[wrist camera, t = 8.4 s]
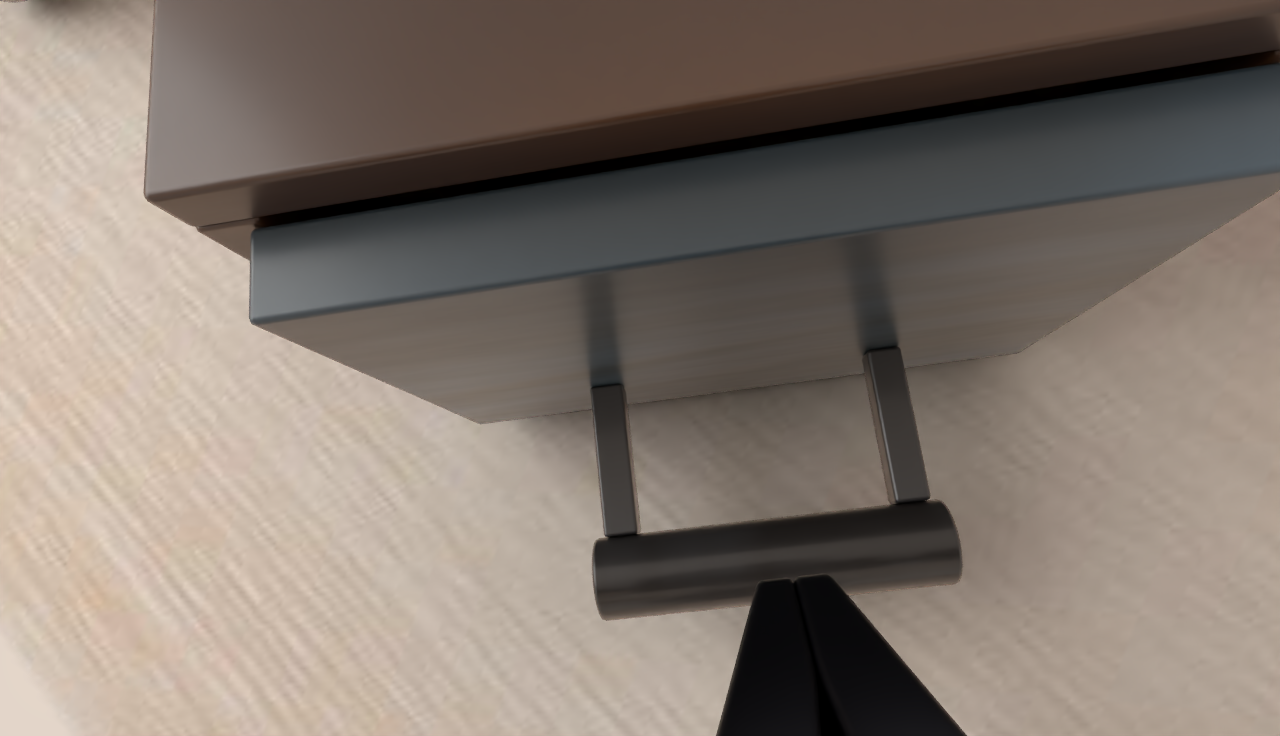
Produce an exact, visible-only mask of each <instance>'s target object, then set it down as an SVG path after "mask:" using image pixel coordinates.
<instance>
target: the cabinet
mask: <svg viewBox="0 0 1280 736" xmlns="http://www.w3.org/2000/svg"><path fill="white" fill-rule="evenodd" d="M1273 63H1280V0H155V1H154V18H153V36H152V54H151V72H150V89H149V107H148V125H147V142H146V160H145V178H144V195H145V198H146V199H147V201H148V202H150V203H152V204H153V205H155V206H157V207H159V208H160V209H162V210H164V211H166V212H167V213H169V214H171V215H173V216H174V217H176V218H178V219H180V220H181V221H183V222H185V223H187V224H188V225H191V226H195V227H196V228H197V230H198V231H199V232H200V233H202V234H204V235H205V236H207V237H209V238H211V239H212V240H214V241H216V242H218V243H219V244H221V245H223V246H225V247H226V248H228V249H230V250H232V251H233V252H235V253H237V254H239V255H241V256H242V257H244V258H246V259H248V260H249V261H250V243H251V233H252V231H253V230H254V229H257V228H263V227H269V226H276V225H282V224H288V223H294V222H300V221H306V220H313V219H319V218H325V217H331V216H337V215H343V214H350V213H356V212H362V211H368V210H374V209H380V208H386V207H393V206H396V205H395V204H394V203H393V202H392V201H391V200H390V199H389V198H388V197H387V196H390V195H396V194H402V193H408V192H414V191H420V190H426V189H433V188H439V187H445V186H451V185H457V184H463V183H469V182H475V181H481V180H487V179H494V178H500V177H506V176H512V175H518V174H524V173H530V172H536V171H542V170H549V169H555V168H561V167H567V166H573V165H579V164H585V163H591V162H597V161H603V160H610V159H616V158H622V157H628V156H634V155H640V154H646V153H652V152H658V151H664V150H671V149H677V148H683V147H689V146H695V145H701V144H707V143H713V142H719V141H726V140H732V139H738V138H744V137H750V136H756V135H762V134H768V133H774V132H780V131H787V130H793V129H799V128H805V127H811V126H817V125H823V124H829V123H835V122H841V121H848V120H854V119H860V118H866V117H872V116H878V115H884V114H890V113H896V112H902V111H909V110H915V109H921V108H927V107H933V106H939V105H945V104H951V103H957V102H964V101H970V100H976V99H982V98H988V97H994V96H1000V95H1006V94H1012V93H1018V92H1025V91H1031V90H1037V89H1043V88H1049V87H1055V86H1061V85H1067V84H1073V83H1079V82H1086V81H1087V82H1086V83H1085V84H1084V86H1083V87H1082V88H1081V89H1080V91H1079V92H1078V93H1077V95H1083V94H1089V93H1095V92H1101V91H1107V90H1113V89H1119V88H1126V87H1132V86H1138V85H1144V84H1150V83H1156V82H1163V81H1169V80H1175V79H1181V78H1187V77H1193V76H1200V75H1206V74H1212V73H1218V72H1224V71H1230V70H1236V69H1243V68H1249V67H1255V66H1261V65H1267V64H1273Z"/></svg>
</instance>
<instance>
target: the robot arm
mask: <svg viewBox="0 0 1280 736" xmlns="http://www.w3.org/2000/svg"><path fill="white" fill-rule="evenodd" d="M716 736H967V735H966V734H965V733H964V732H963V730H962V729H961V728H960V727H959V726H958V725H957V723H956V722H955V721H954V720H953V719H952V718H951V716H950V715H949V714H948V713H947V712H946V710H945V709H944V708H943V707H942V706H941V705H940V703H939V702H938V701H937V700H936V699H935V698H934V696H933V695H932V694H931V693H930V692H929V690H928V689H927V688H926V687H925V686H924V685H923V683H922V682H921V681H920V680H919V679H918V678H917V676H916V675H915V674H914V673H913V672H912V670H911V669H910V668H909V667H908V666H907V665H906V663H905V662H904V661H903V660H902V659H901V657H900V656H899V655H898V654H897V653H896V652H895V650H894V649H893V648H892V647H891V646H890V645H889V643H888V642H887V641H886V640H885V639H884V637H883V636H882V635H881V634H880V633H879V632H878V630H877V629H876V628H875V627H874V626H873V625H872V623H871V622H870V621H869V620H868V619H867V617H866V616H865V615H864V614H863V613H862V612H861V610H860V609H859V608H858V607H857V606H856V605H855V603H854V602H853V601H852V600H851V599H850V597H849V596H848V595H847V594H846V593H845V592H844V590H843V589H842V588H841V587H840V586H839V584H838V583H837V582H836V581H835V580H834V579H833V578H832V577H831V576H830V575H828V574H815V575H806V576H799V577H797V578H796V579H795V580H794V582H793V581H792V580H791V579H790V578H778V579H768V580H762V581H760V582H758V584H757V586H756V589H755V592H754V596H753V600H752V604H751V607H750V611H749V615H748V619H747V622H746V626H745V630H744V633H743V637H742V641H741V645H740V648H739V652H738V656H737V660H736V663H735V667H734V671H733V675H732V678H731V682H730V686H729V690H728V693H727V697H726V701H725V705H724V708H723V712H722V716H721V720H720V723H719V727H718V731H717V735H716Z"/></svg>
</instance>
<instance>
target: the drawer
mask: <svg viewBox="0 0 1280 736" xmlns="http://www.w3.org/2000/svg"><path fill="white" fill-rule="evenodd" d="M1086 82H1087V81H1086ZM1086 82H1079V83H1073V84H1067V85H1061V86H1055V87H1049V88H1043V89H1037V90H1031V91H1025V92H1018V93H1012V94H1006V95H1000V96H994V97H988V98H982V99H976V100H970V101H964V102H957V103H951V104H945V105H939V106H933V107H927V108H921V109H915V110H909V111H902V112H896V113H890V114H884V115H878V116H872V117H866V118H860V119H854V120H848V121H841V122H835V123H829V124H823V125H817V126H811V127H805V128H799V129H793V130H787V131H780V132H774V133H768V134H762V135H756V136H750V137H744V138H738V139H732V140H726V141H719V142H713V143H707V144H701V145H695V146H689V147H683V148H677V149H671V150H664V151H658V152H652V153H646V154H640V155H634V156H628V157H622V158H616V159H610V160H603V161H597V162H591V163H585V164H579V165H573V166H567V167H561V168H555V169H549V170H542V171H536V172H530V173H524V174H518V175H512V176H506V177H500V178H494V179H487V180H481V181H475V182H469V183H463V184H457V185H451V186H445V187H439V188H433V189H426V190H420V191H414V192H408V193H402V194H396V195H390V196H387V197H388V198H389V199H390V200H391V201H392V202H393V203H394V204H395V205H396V206H393V207H386V208H380V209H374V210H368V211H362V212H356V213H350V214H343V215H337V216H331V217H325V218H319V219H313V220H306V221H300V222H294V223H288V224H282V225H276V226H269V227H263V228H257V229H254V230H253V231H252V233H251V243H250V299H249V319H250V321H251V323H252V324H253V325H255V326H257V327H260V328H262V329H264V330H266V331H269V332H271V333H273V334H276V335H278V336H280V337H282V338H285V339H287V340H289V341H291V342H294V343H296V344H298V345H301V346H303V347H305V348H307V349H310V350H312V351H314V352H317V353H319V354H321V355H323V356H326V357H328V358H330V359H333V360H335V361H337V362H339V363H342V364H344V365H346V366H348V367H351V368H353V369H355V370H358V371H360V372H362V373H364V374H367V375H369V376H371V377H374V378H376V379H378V380H380V381H383V382H385V383H387V384H390V385H392V386H394V387H396V388H399V389H401V390H403V391H406V392H408V393H410V394H412V395H415V396H417V397H419V398H421V399H424V400H426V401H428V402H431V403H433V404H435V405H437V406H440V407H442V408H444V409H447V410H449V411H451V412H453V413H456V414H458V415H460V416H463V417H465V418H467V419H469V420H472V421H474V422H476V423H479V424H485V423H493V422H500V421H508V420H515V419H523V418H530V417H538V416H546V415H553V414H561V413H568V412H576V411H583V410H591V409H592V414H593V425H594V435H595V445H596V456H597V466H598V476H599V487H600V497H601V507H602V518H603V528H604V535H605V536H606V537H605V538H599V539H597V540H596V541H595V543H594V547H593V554H592V575H593V587H594V594H595V600H596V604H597V608H598V611H599V614H600V616H601V618H602V619H603V620H606V621H607V620H617V619H627V618H636V617H646V616H655V615H665V614H674V613H684V612H693V611H703V610H712V609H722V608H732V607H741V606H751V604H752V600H753V596H754V592H755V589H756V586H757V584H758V582H760V581H762V580H768V579H778V578H790V579H791V580H792V581H793V582H794V580H795V579H796V578H797V577H799V576H806V575H815V574H828V575H830V576H831V577H832V578H833V579H834V580H835V581H836V582H837V583H838V584H839V586H840V587H841V588H842V589H843V590H844V592H845V593H846V594H847V595H856V594H865V593H875V592H884V591H894V590H903V589H913V588H922V587H932V586H941V585H951V584H956V583H957V582H959V581H960V579H961V576H962V566H963V561H962V550H961V544H960V539H959V535H958V531H957V528H956V525H955V522H954V520H953V517H952V515H951V513H950V511H949V509H948V508H947V506H946V505H945V504H944V502H942V501H941V500H937V499H934V500H928V499H930V490H929V485H928V480H927V476H926V471H925V466H924V461H923V456H922V451H921V446H920V441H919V436H918V431H917V426H916V421H915V417H914V412H913V407H912V402H911V397H910V392H909V387H908V382H907V377H906V372H905V368H909V367H916V366H924V365H931V364H939V363H947V362H954V361H962V360H969V359H977V358H984V357H992V356H1000V355H1007V354H1015V353H1019V352H1021V351H1022V350H1024V349H1026V348H1027V347H1029V346H1030V345H1032V344H1034V343H1035V342H1037V341H1038V340H1040V339H1042V338H1043V337H1045V336H1046V335H1048V334H1050V333H1051V332H1053V331H1054V330H1056V329H1058V328H1059V327H1061V326H1062V325H1064V324H1066V323H1067V322H1069V321H1070V320H1072V319H1074V318H1075V317H1077V316H1078V315H1080V314H1082V313H1083V312H1085V311H1087V310H1088V309H1090V308H1091V307H1093V306H1095V305H1096V304H1098V303H1099V302H1101V301H1103V300H1104V299H1106V298H1107V297H1109V296H1111V295H1112V294H1114V293H1115V292H1117V291H1119V290H1120V289H1122V288H1123V287H1125V286H1127V285H1128V284H1130V283H1131V282H1133V281H1135V280H1136V279H1138V278H1139V277H1141V276H1143V275H1144V274H1146V273H1147V272H1149V271H1151V270H1152V269H1154V268H1155V267H1157V266H1159V265H1160V264H1162V263H1164V262H1165V261H1167V260H1168V259H1170V258H1172V257H1173V256H1175V255H1176V254H1178V253H1180V252H1181V251H1183V250H1184V249H1186V248H1188V247H1189V246H1191V245H1192V244H1194V243H1196V242H1197V241H1199V240H1200V239H1202V238H1204V237H1205V236H1207V235H1208V234H1210V233H1212V232H1213V231H1215V230H1216V229H1218V228H1220V227H1221V226H1223V225H1224V224H1226V223H1228V222H1229V221H1231V220H1232V219H1234V218H1236V217H1237V216H1239V215H1241V214H1242V213H1244V212H1245V211H1247V210H1249V209H1250V208H1252V207H1253V206H1255V205H1257V204H1258V203H1260V202H1261V201H1263V200H1265V199H1266V198H1268V197H1269V196H1271V195H1273V194H1274V193H1276V192H1277V191H1279V190H1280V63H1273V64H1267V65H1261V66H1255V67H1249V68H1243V69H1236V70H1230V71H1224V72H1218V73H1212V74H1206V75H1200V76H1193V77H1187V78H1181V79H1175V80H1169V81H1163V82H1156V83H1150V84H1144V85H1138V86H1132V87H1126V88H1119V89H1113V90H1107V91H1101V92H1095V93H1089V94H1083V95H1077V93H1078V92H1079V91H1080V89H1081V88H1082V87H1083V86H1084V84H1085V83H1086ZM863 373H864V374H865V379H866V384H867V390H868V395H869V400H870V405H871V411H872V416H873V421H874V426H875V432H876V437H877V442H878V448H879V453H880V458H881V463H882V469H883V474H884V479H885V485H886V490H887V495H888V500H889V502H890V503H891V505H882V506H874V507H865V508H856V509H848V510H839V511H830V512H822V513H813V514H805V515H796V516H787V517H779V518H770V519H761V520H753V521H744V522H735V523H727V524H718V525H709V526H701V527H692V528H683V529H675V530H666V531H657V532H649V533H640V532H641V525H640V516H639V506H638V497H637V488H636V479H635V470H634V460H633V451H632V442H631V433H630V424H629V414H628V405H629V404H636V403H644V402H651V401H659V400H667V399H674V398H682V397H689V396H697V395H704V394H712V393H720V392H727V391H735V390H742V389H750V388H757V387H765V386H773V385H780V384H788V383H795V382H803V381H810V380H818V379H826V378H833V377H841V376H848V375H856V374H863ZM925 500H926V501H925ZM639 533H640V534H639Z"/></svg>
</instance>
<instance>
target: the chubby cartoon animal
mask: <svg viewBox="0 0 1280 736" xmlns="http://www.w3.org/2000/svg"><path fill="white" fill-rule="evenodd" d="M0 1H4V2H22V1H27V0H0Z"/></svg>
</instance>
